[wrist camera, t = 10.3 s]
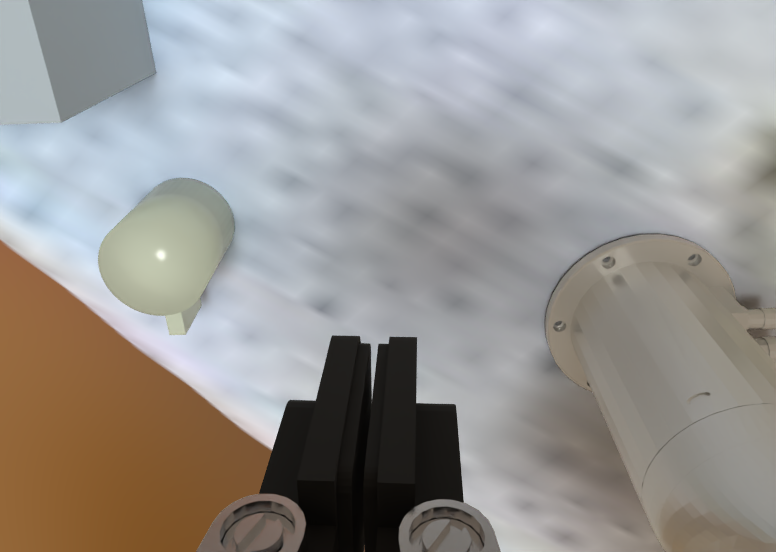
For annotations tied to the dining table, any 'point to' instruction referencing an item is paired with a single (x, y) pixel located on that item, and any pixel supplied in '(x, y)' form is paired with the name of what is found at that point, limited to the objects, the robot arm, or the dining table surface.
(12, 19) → the grey box
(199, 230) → the sage mug
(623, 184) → the dining table surface
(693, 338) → the robot arm
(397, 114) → the dining table surface
